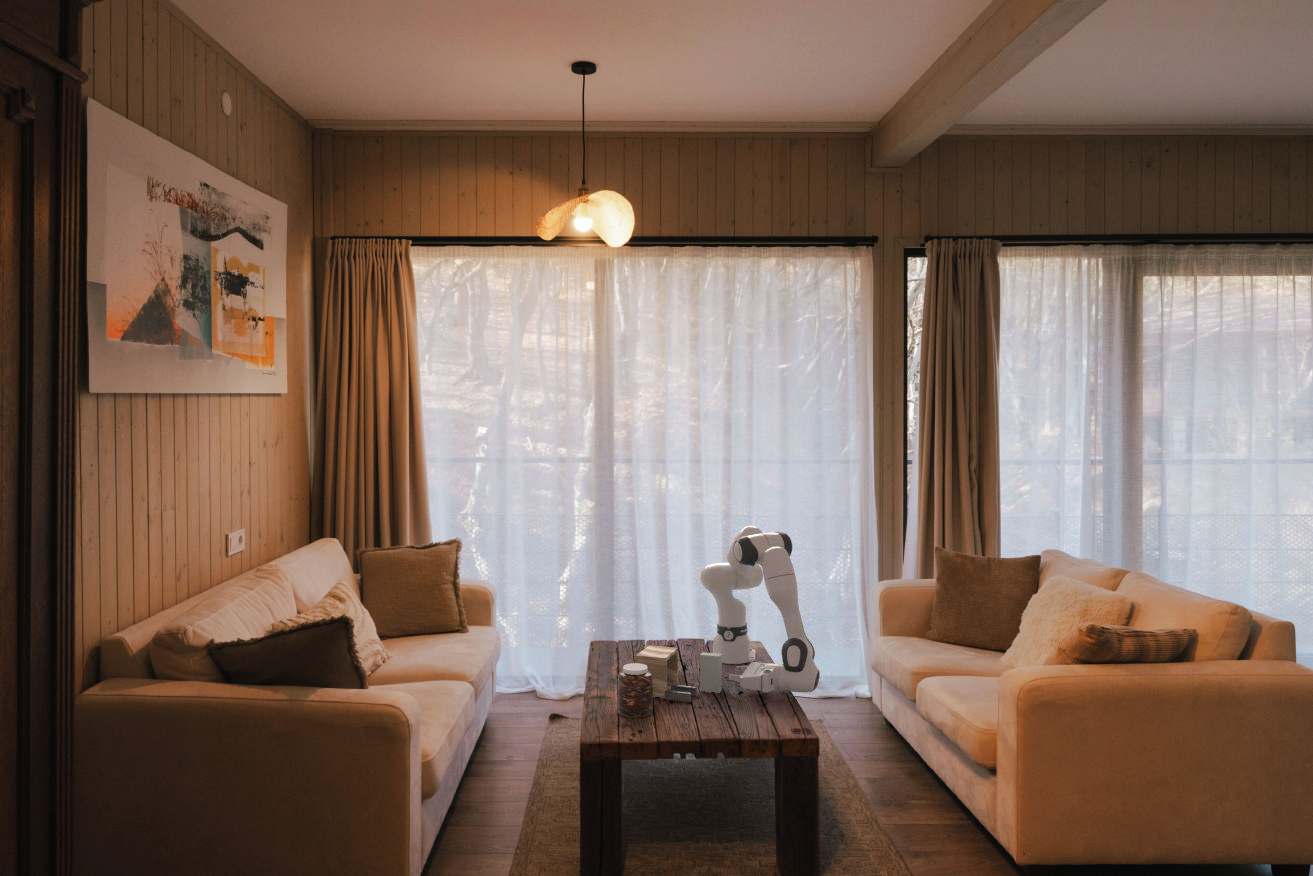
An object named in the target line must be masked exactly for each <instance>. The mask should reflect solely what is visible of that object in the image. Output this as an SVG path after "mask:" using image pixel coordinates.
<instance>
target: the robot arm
mask: <svg viewBox="0 0 1313 876" xmlns="http://www.w3.org/2000/svg"><path fill="white" fill-rule="evenodd" d="M792 553H793V542H792V539H791V537H790V536H789V534H788V533H786V532H783V531H782V532H781V531H774V532H762V530H761V529H760V528H758V527H757V526H755V525H746V526H744V527H743V528H742V529H740V531H739V532H738V533H737V534H736V536H735V538H734V539H733V541H732V543H731V544H730V547H729V549H728V551H727V555H726V559H727V562H717V563H715V562H714V563H711V564H708V565H705V566H704V567H703V568H702V569H701V572H700V582H701V584H702V586H703V587H704V589H706V590H707V591H708V592H709V593H711V595H712V597H713V598H714V600H715V602H716V606H717V619H718V620H717V621H718V623H717V624H716V625H717V626H716V633H717V634H716V635H715V636H714V637H713V640H712V641H713V645H712V653H718V654H722V664H726V665H727V664H728V665H730V664H731V665H736V666H735V668H734V672H735V673H742V674H735V673H730V674H729V675H728V679H729V681H735V682H737V683H739V687H740V688H742V689H746V690H752V691H761V692H762V693H765V694H767V693H771V692H772V691H788V692H792V693H812V692H813V691H815V690H816V689H817V687H818V684H819V680H820V673H821V672H820V670H819V668H818V667H817V665H816V663H815V661H814V659H815V655H816V652H815V648H814V646H813V644H812V642H811V641H810V640H809V638H808V636H807V635H806V632H805V628H804V625H803V621H802V616H801V612H800V608H799V607H800V606H799V593H798V592H799V591H798V583H797V577H796V573H795V568H794V566H793V563H792V560H791V555H792ZM763 579H764V584H765V588H766V591H767V594H768V596H769V598H770V600H771V602H773V603H774V605H775V606H776V607H777V608H778V610H779V612H780V614H781V616H782V619H783V624H784V628H785V631H786V636H787V640H785V641H784V643H783V644H782V647H781V660H782V663H771V662H760V661H756V659H757V658H756V656H757V655H756V654H757V652H756V649H754V648H752V647H751V638H750V636H749V635H748V623H747V614H746V613H747V607H746V604H745V603H744V602H743V601H742V600H740V599H739V598H736V597H734V595H733V591H737V590H739V591H741V590H749V589H754V588H756V587H759V586H760V585H761V584H762V582H763ZM753 661H755V662H753ZM745 663H749V664H748V665H741V664H745ZM738 664H740V665H741V666H740V665H739V666H738Z"/></svg>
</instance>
